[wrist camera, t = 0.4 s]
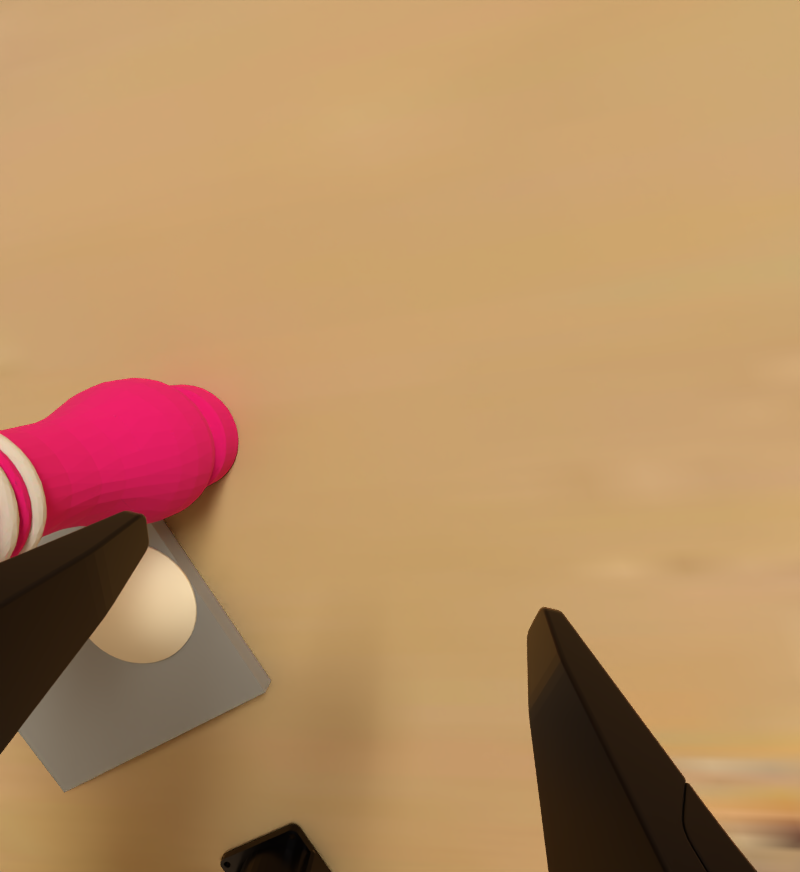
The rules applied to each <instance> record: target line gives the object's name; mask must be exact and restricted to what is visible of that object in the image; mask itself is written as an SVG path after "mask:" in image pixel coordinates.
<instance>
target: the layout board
mask: <svg viewBox="0 0 800 872" xmlns="http://www.w3.org/2000/svg"><path fill="white" fill-rule="evenodd" d="M84 527H86V526H78V527H72V528H66V529H62V530H59V531H56V532H54V533H51V534H49V535H46V536H43V537H42V538H41V540H40V542H39V543H38V545H37V547H38V546H41V545H43V544H45V543H48V542H50V541H53V540H55V539H57V538H60V537H62V536H64V535H67V534H69V533H72V532H74V531H76V530H79V529H81V528H84ZM147 528H148V536H149V545H148V548H147V551H146V552H145V554H144V556H143V557H142V559H141V561H140V562H139V564H138V566H137V567H136V569H135V570H134V572H133V574H132V575H131V577H130V578H129V580H128V582H127V583H126V585H125V587H124V588H123V590H122V591H121V593H120V595H119V596H118V598H117V599H116V601H115V603H114V604H113V606H112V607H111V609H110V610H109V612H108V613H107V615H106V616H105V618H104V619H103V620H102V622H101V623H100V624H99V626H98V627H97V628H96V630H95V631H94V632H93V634H92V635H91V636H90V637H89V639H88V640H87V641H86V643H85V644H84V645H83V647H82V648H81V649H80V651H79V652H78V653H77V654H76V656H75V657H74V658H73V660H72V661H71V662H70V664H69V665H68V666H67V668H66V669H65V670H64V671H63V673H62V674H61V675H60V677H59V678H58V679H57V681H56V682H55V683H54V685H53V686H52V687H51V688H50V690H49V691H48V692H47V694H46V695H45V696H44V698H43V699H42V700H41V702H40V703H39V704H38V706H37V707H36V708H35V709H34V711H33V712H32V713H31V715H30V716H29V717H28V719H27V720H26V721H25V723H24V724H23V725H22V726H21V728H20V729H19V730H18V732H19V733H20V735H21V736H22V737H23V739H24V740H25V741H26V743H27V744H28V745H29V746H30V748H31V749H32V750H33V752H34V753H35V754H36V756H37V757H38V758H39V760H40V761H41V762H42V764H43V765H44V766H45V768H46V769H47V770H48V772H49V773H50V774H51V776H52V777H53V778H54V779H55V781H56V782H57V783H58V785H59V786H60V787H61V789H62V790H63V791H64V792H66V791H68V790H70V789H72V788H74V787H76V786H78V785H80V784H82V783H84V782H86V781H88V780H90V779H92V778H94V777H97V776H99V775H101V774H103V773H105V772H107V771H109V770H111V769H113V768H115V767H117V766H119V765H121V764H123V763H125V762H127V761H129V760H131V759H133V758H135V757H137V756H139V755H141V754H143V753H145V752H147V751H149V750H151V749H153V748H155V747H157V746H159V745H161V744H163V743H165V742H167V741H169V740H171V739H173V738H175V737H177V736H179V735H181V734H183V733H185V732H187V731H189V730H191V729H193V728H195V727H197V726H199V725H201V724H203V723H205V722H207V721H209V720H211V719H213V718H215V717H217V716H219V715H221V714H223V713H225V712H227V711H229V710H231V709H233V708H235V707H237V706H239V705H241V704H243V703H245V702H247V701H249V700H251V699H253V698H255V697H257V696H259V695H261V694H263V693H265V692H266V690H267V688H268V686H269V684H270V682H271V680H270V678H269V677H268V675H267V674H266V672H265V671H264V669H263V668H262V666H261V665H260V663H259V662H258V660H257V659H256V657H255V656H254V654H253V653H252V652H251V650H250V649H249V647H248V646H247V644H246V643H245V641H244V640H243V638H242V637H241V635H240V634H239V632H238V631H237V629H236V628H235V626H234V625H233V623H232V622H231V620H230V619H229V617H228V616H227V614H226V613H225V611H224V610H223V608H222V607H221V605H220V604H219V602H218V601H217V599H216V598H215V597H214V595H213V594H212V592H211V591H210V589H209V588H208V586H207V585H206V583H205V582H204V580H203V579H202V577H201V576H200V574H199V573H198V571H197V570H196V568H195V567H194V565H193V564H192V562H191V561H190V559H189V558H188V556H187V555H186V553H185V552H184V550H183V549H182V547H181V546H180V544H179V543H178V542H177V540H176V539H175V537H174V536H173V534H172V533H171V531H170V530H169V528H168V527H167V525H166V524H165V522H164V521H163V519H162V520H160V521H157V522H153V523H149V524H147Z"/></svg>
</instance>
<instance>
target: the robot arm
mask: <svg viewBox="0 0 800 872" xmlns="http://www.w3.org/2000/svg"><path fill="white" fill-rule="evenodd" d="M148 545H149V536H148V528H147V520H146V517H145V516H144V515H143V514H141V513H137V512H132V511H122V512H119V513H117V514H115V515H112V516H110V517H107V518H105V519H103V520H100V521H98V522H96V523H93V524H91V525H88V526H86V527H84V528H81V529H79V530H76V531H74V532H72V533H69V534H67V535H64V536H62V537H60V538H57V539H55V540H53V541H50V542H48V543H45V544H43V545H41V546H38V547H36V548H33V549H31V550H29V551H26V552H24V553H22V554H19V555H17V556H14V557H12V558H10V559H7V560H5V561H2V562H0V754H1V753H2V751H3V750H4V749H5V747H6V746H7V745H8V743H9V742H10V741H11V740H12V738H13V737H14V736H15V734H16V733H17V732H18V730H19V729H20V728H21V726H22V725H23V724H24V723H25V721H26V720H27V719H28V717H29V716H30V715H31V713H32V712H33V711H34V709H35V708H36V707H37V706H38V704H39V703H40V702H41V700H42V699H43V698H44V696H45V695H46V694H47V692H48V691H49V690H50V688H51V687H52V686H53V685H54V683H55V682H56V681H57V679H58V678H59V677H60V675H61V674H62V673H63V671H64V670H65V669H66V668H67V666H68V665H69V664H70V662H71V661H72V660H73V658H74V657H75V656H76V654H77V653H78V652H79V651H80V649H81V648H82V647H83V645H84V644H85V643H86V641H87V640H88V639H89V637H90V636H91V635H92V634H93V632H94V631H95V630H96V628H97V627H98V626H99V624H100V623H101V622H102V620H103V619H104V618H105V616H106V615H107V613H108V612H109V610H110V609H111V607H112V606H113V604H114V603H115V601H116V599H117V598H118V596H119V595H120V593H121V591H122V590H123V588H124V587H125V585H126V583H127V582H128V580H129V578H130V577H131V575H132V574H133V572H134V570H135V569H136V567H137V566H138V564H139V562H140V561H141V559H142V557H143V556H144V554H145V552H146V551H147V548H148ZM527 665H528V706H529V719H530V728H531V736H532V744H533V752H534V760H535V768H536V776H537V784H538V792H539V799H540V807H541V815H542V823H543V831H544V839H545V847H546V855H547V863H548V871H549V872H757V871H756V869H755V868H754V867H753V866H752V864H751V863H750V862H749V861H748V860H747V858H746V857H745V856H744V855H743V853H742V852H741V851H740V850H739V848H738V847H737V846H736V845H735V843H734V842H733V841H732V840H731V838H730V837H729V836H728V834H727V833H726V832H725V830H724V829H723V828H722V827H721V825H720V824H719V823H718V821H717V820H716V819H715V817H714V816H713V815H712V813H711V812H710V811H709V810H708V808H707V807H706V806H705V804H704V803H703V802H702V800H701V799H700V798H699V796H698V795H697V793H696V792H695V791H694V789H693V788H692V787H691V785H690V784H689V783H685V782H686V780H685V778H684V776H683V775H682V773H681V772H680V771H679V769H678V768H677V767H676V765H675V764H674V763H673V761H672V760H671V759H670V757H669V756H668V755H667V753H666V752H665V750H664V749H663V748H662V746H661V745H660V744H659V742H658V741H657V740H656V738H655V737H654V736H653V734H652V733H651V732H650V730H649V729H648V728H647V726H646V725H645V723H644V722H643V721H642V719H641V718H640V717H639V715H638V714H637V713H636V711H635V710H634V709H633V707H632V706H631V705H630V703H629V702H628V701H627V699H626V698H625V696H624V695H623V694H622V692H621V691H620V690H619V688H618V687H617V686H616V684H615V683H614V682H613V680H612V679H611V678H610V676H609V675H608V674H607V672H606V671H605V669H604V668H603V667H602V665H601V664H600V663H599V661H598V660H597V659H596V657H595V656H594V655H593V653H592V652H591V651H590V649H589V648H588V647H587V645H586V644H585V642H584V641H583V640H582V638H581V637H580V636H579V634H578V633H577V632H576V630H575V629H574V628H573V626H572V625H571V624H570V622H569V621H568V620H567V618H566V617H565V615H564V614H563V613H562V612H561V611H559V610H555V609H551V608H547V607H542V608H541V609H540V610H539V612H538V613H537V615H536V617H535V619H534V621H533V623H532V625H531V627H530V629H529V631H528V635H527ZM221 867H222V868H223V870H224V871H225V872H330V870H329V869H328V867H327V866H326V864H325V863H324V862H323V860H322V859H321V857H320V856H319V854H318V853H317V851H316V850H315V849H314V847H313V846H312V844H311V843H310V841H309V840H308V838H307V837H306V836H305V834H304V833H303V831H302V830H301V828H300V827H299V826H297V825H295V824H292V825H289V826H286V827H284V828H282V829H279V830H277V831H275V832H273V833H270V834H268V835H266V836H263V837H261V838H259V839H257V840H254V841H252V842H250V843H248V844H245V845H243V846H241V847H238V848H236V849H234V850H232V851H229V852H227V853H225V854H224V856H223V858H222V860H221Z"/></svg>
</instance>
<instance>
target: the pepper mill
mask: <svg viewBox="0 0 800 872" xmlns="http://www.w3.org/2000/svg"><path fill="white" fill-rule="evenodd" d="M237 450H238V433H237V428H236V425H235V422H234V419H233V417H232V415H231V414H230V412H229V410H228V409H227V407H226V406H225V405H224V404H223V403H222V402H221V400H219V399H218V398H217V397H216V396H214V395H213V394H212V393H210V392H208V391H206V390H204V389H202V388H199V387H195V386H190V385H171V386H169V385H167V384H164V383H162V382H159V381H155V380H150V379H141V378H129V379H122V380H115V381H110V382H104V383H101V384H98V385H96V386H93V387H91V388H89V389H87V390H85V391H83V392H80V393H78V394H77V395H75V396H73V397H72V398H70V399H69V400H68V401H66V402H65V403H64V404H63V405H61V406H60V407H59V408H58V409H57V410H55V411H54V412H53V413H52V414H50V415H49V416H48V417H47V418H45V419H43V420H41V421H39V422H36V423H33V424H29V425H24V426H20V427H15V428H11V429H6V430H0V562H2V561H5V560H7V559H10V558H12V557H14V556H17V555H19V554H22V553H24V552H26V551H29V550H31V549H33V548H36V547H37V545H38V543H39V542H40V540H41V538H42V537H43V536H46V535H49V534H51V533H54V532H56V531H59V530H62V529H66V528H72V527H78V526H88V525H91V524H93V523H96V522H98V521H100V520H103V519H105V518H107V517H110V516H112V515H115V514H117V513H119V512H122V511H132V512H137V513H141V514H143V515H144V516H145V517H146V520H147V524H149V523H153V522H157V521H160V520H162V519H165V518H167V517H169V516H172V515H174V514H177V513H179V512H181V511H182V510H184V509H185V508H187V507H189V506H190V505H191V504H192V503H193V502H194V501H195V500H196V499H197V498H198V497H199V496H200V495H201V494H202V492H203V491H204V489H205V488H206V487H207V486H209V485H211V484H213V483H215V482H217V481H218V480H219V479H221V478H222V477H223V476H224V475H225V474H226V473H227V472H228V471H229V469H230V468H231V466H232V464H233V463H234V460H235V458H236V454H237Z"/></svg>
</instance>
